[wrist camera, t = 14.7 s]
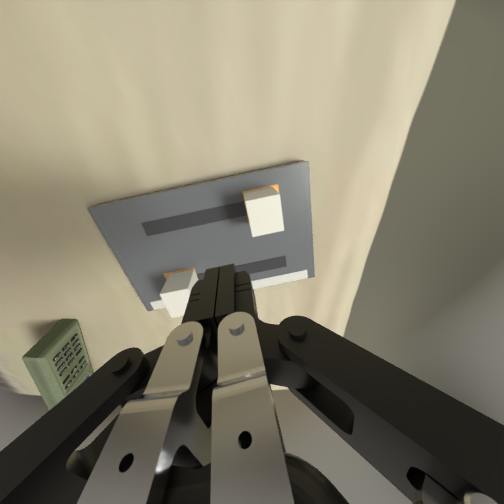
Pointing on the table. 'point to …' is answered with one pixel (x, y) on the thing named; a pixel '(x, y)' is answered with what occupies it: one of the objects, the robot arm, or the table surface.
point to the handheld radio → (59, 362)
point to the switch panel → (210, 231)
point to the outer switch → (178, 291)
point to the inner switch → (264, 211)
